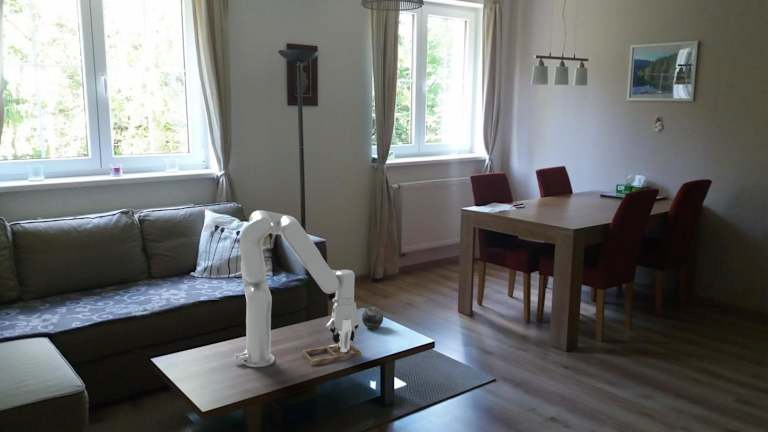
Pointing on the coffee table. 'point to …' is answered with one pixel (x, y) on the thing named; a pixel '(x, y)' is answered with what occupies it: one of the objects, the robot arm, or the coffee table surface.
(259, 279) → the robot arm
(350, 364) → the coffee table surface
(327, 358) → the coaster frame
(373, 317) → the decorative stone
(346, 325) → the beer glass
